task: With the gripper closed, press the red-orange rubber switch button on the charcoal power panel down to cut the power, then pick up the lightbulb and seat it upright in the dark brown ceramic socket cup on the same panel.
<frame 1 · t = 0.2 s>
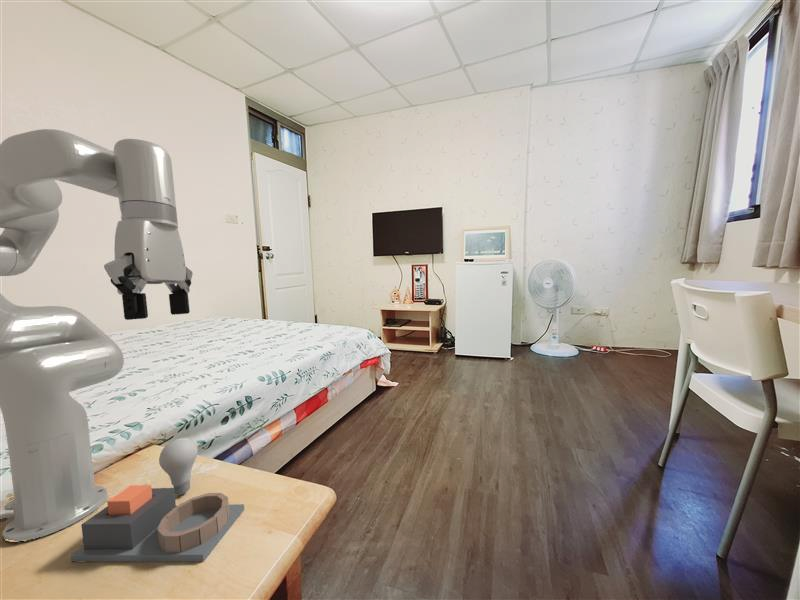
hand: (160, 316, 52), 36 cm above the table, tool pointing down, fingers open, 9 cm apart
power panel: (165, 533, 49), on the table
lightbulb: (183, 495, 58), on the table
switch button: (131, 504, 49), point 5 cm above the table, slide at 0.0 cm
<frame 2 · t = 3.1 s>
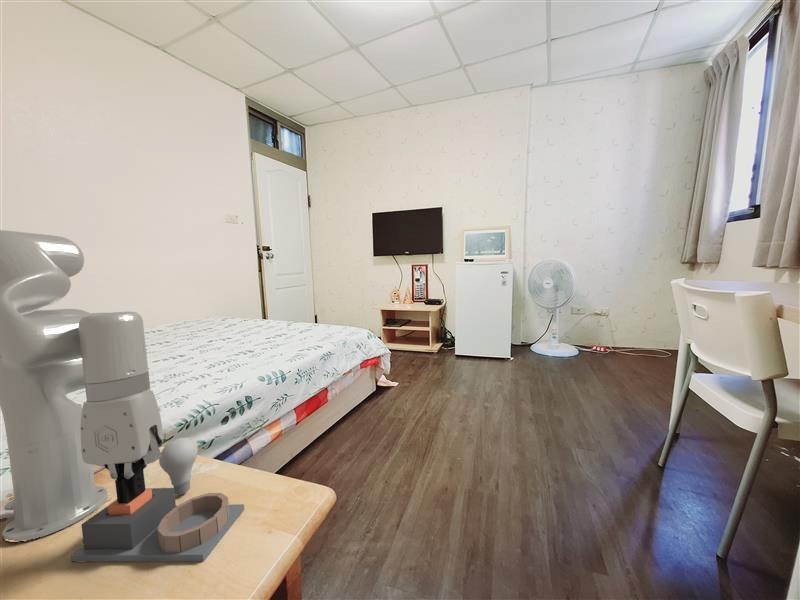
hand: (132, 497, 49), 6 cm above the table, tool pointing down, fingers closed
switch button: (131, 508, 49), point 4 cm above the table, slide at 0.7 cm, touching gripper
everything else where it was.
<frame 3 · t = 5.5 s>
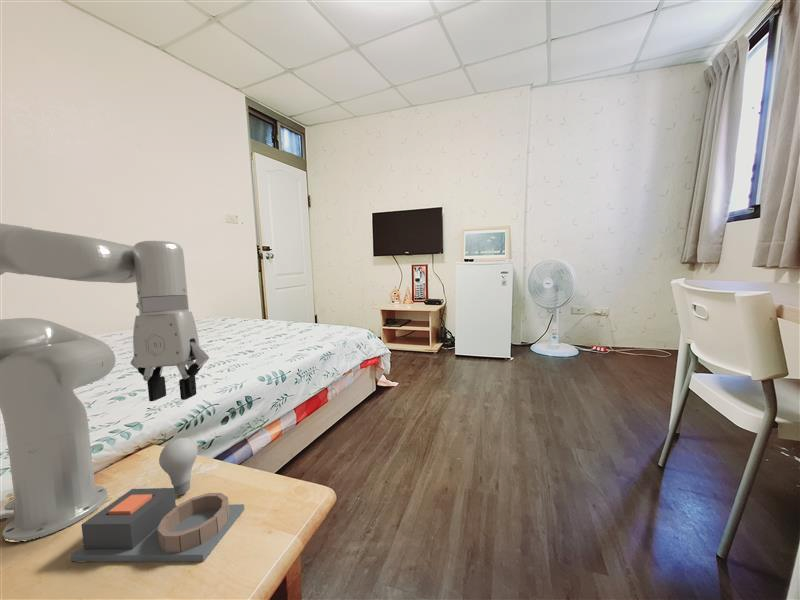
hand: (173, 397, 58), 20 cm above the table, tool pointing down, fingers open, 5 cm apart
switch button: (132, 514, 49), point 3 cm above the table, slide at 1.6 cm
everything else where it was.
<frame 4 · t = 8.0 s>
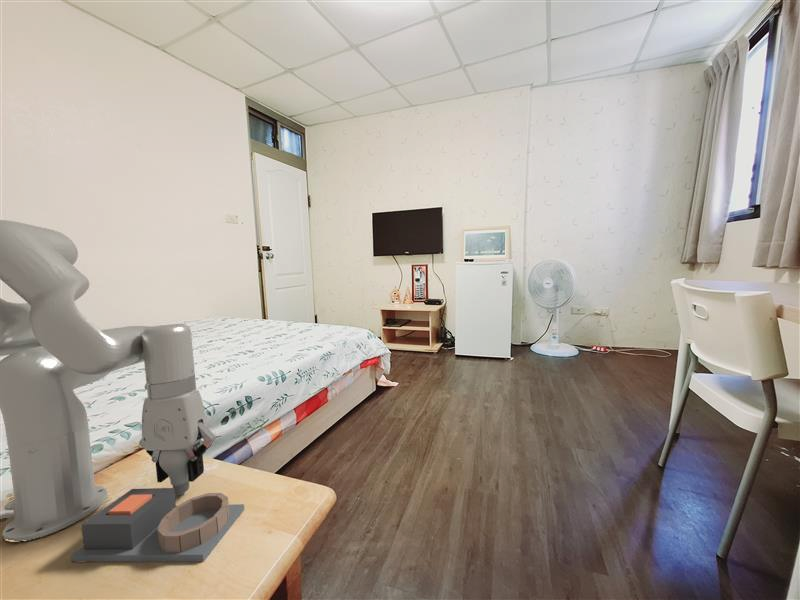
hand: (181, 476, 58), 4 cm above the table, tool pointing down, fingers closed on lightbulb, 5 cm apart
lightbulb: (181, 495, 58), on the table, touching gripper
everything else where it was.
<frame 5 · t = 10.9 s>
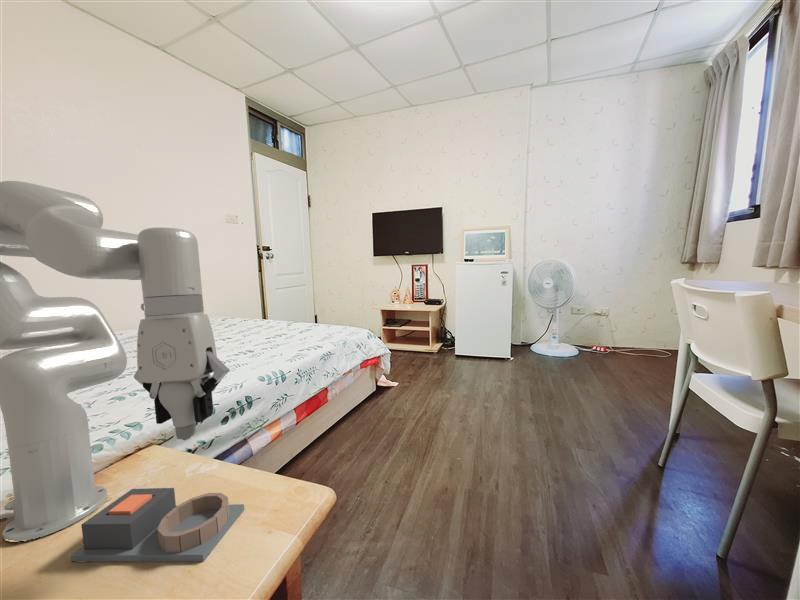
hand: (185, 418, 48), 19 cm above the table, tool pointing down, fingers closed on lightbulb, 5 cm apart
lightbulb: (186, 440, 48), point 15 cm above the table, touching gripper
everything else where it was.
when the fingers open (6 cm above the table, at t = 13.7 s): lightbulb drops 1 cm, resting on power panel.
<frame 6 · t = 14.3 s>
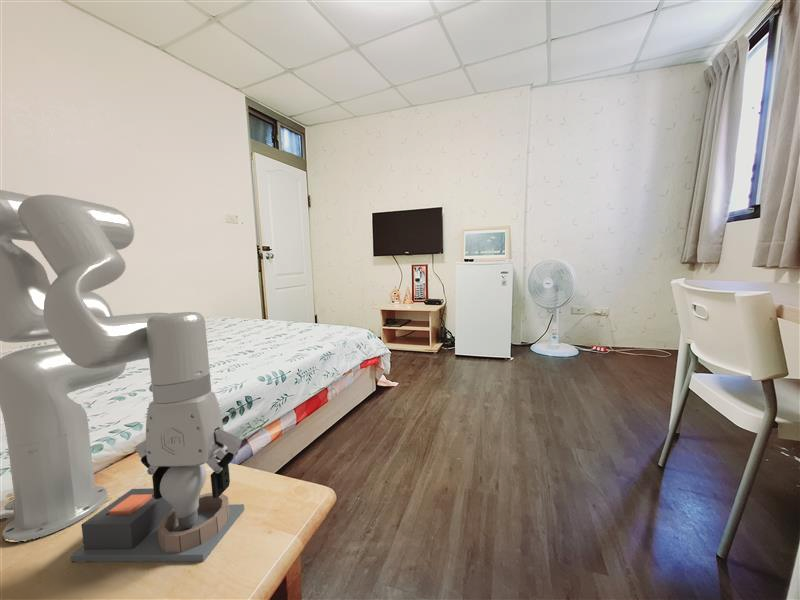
hand: (193, 492, 48), 7 cm above the table, tool pointing down, fingers open, 9 cm apart
lightbulb: (189, 528, 48), point 1 cm above the table, touching power panel
everything else where it was.
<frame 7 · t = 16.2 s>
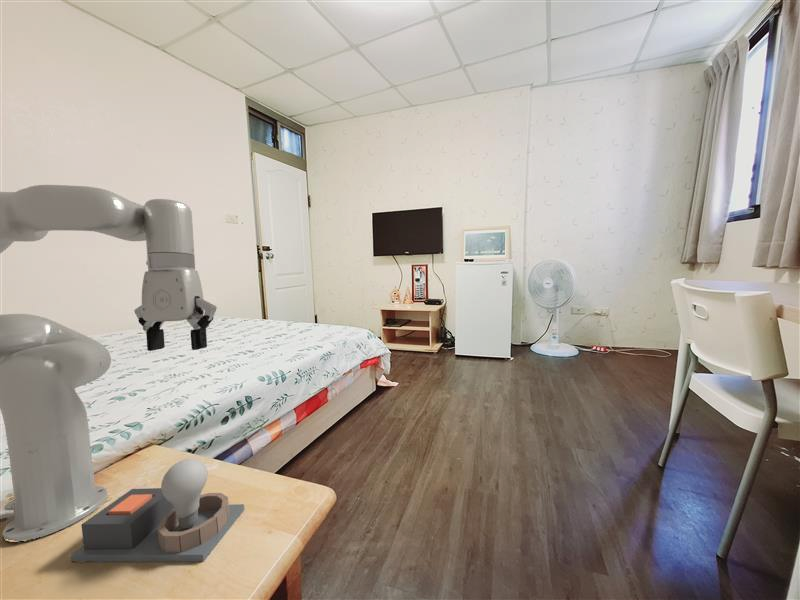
hand: (177, 349, 59), 29 cm above the table, tool pointing down, fingers open, 9 cm apart
nothing on the table moved.
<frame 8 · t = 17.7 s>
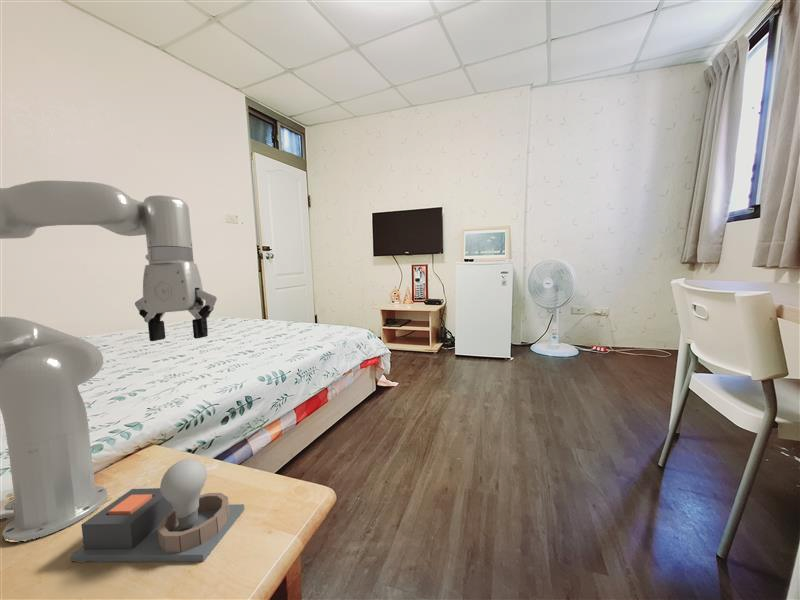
hand: (179, 338, 62), 30 cm above the table, tool pointing down, fingers open, 9 cm apart
nothing on the table moved.
at the end: switch button slide at 1.6 cm; lightbulb 1.3 cm from the target spot on the power panel, point 0.8 cm above the power panel's base; lightbulb tilted 0° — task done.
